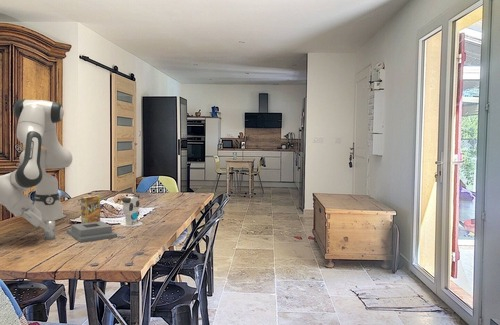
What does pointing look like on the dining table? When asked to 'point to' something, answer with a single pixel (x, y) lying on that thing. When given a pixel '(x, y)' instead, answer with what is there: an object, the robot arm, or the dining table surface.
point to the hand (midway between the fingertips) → (47, 226)
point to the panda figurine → (131, 211)
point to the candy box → (90, 209)
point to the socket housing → (91, 231)
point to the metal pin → (49, 230)
